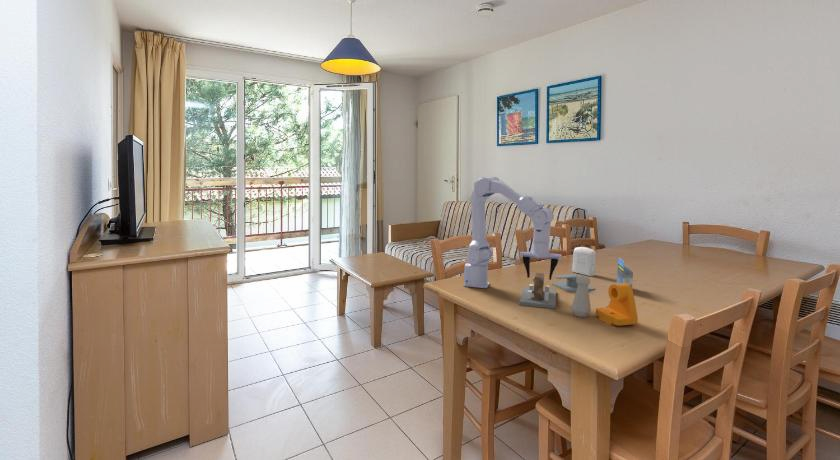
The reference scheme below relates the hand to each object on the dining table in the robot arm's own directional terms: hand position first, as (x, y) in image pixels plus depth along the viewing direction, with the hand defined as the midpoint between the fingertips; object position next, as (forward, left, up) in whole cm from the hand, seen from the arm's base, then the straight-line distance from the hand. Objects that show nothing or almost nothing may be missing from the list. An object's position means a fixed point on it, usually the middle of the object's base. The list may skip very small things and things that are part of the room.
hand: (539, 278), depth 154 cm
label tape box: (+32, +24, -8) cm, 41 cm away
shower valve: (+12, +20, -8) cm, 25 cm away
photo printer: (+18, +46, -8) cm, 50 cm away
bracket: (+24, -16, -8) cm, 30 cm away
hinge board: (0, 0, -8) cm, 8 cm away
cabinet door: (0, 0, -7) cm, 7 cm away
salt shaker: (+14, -14, -8) cm, 21 cm away
